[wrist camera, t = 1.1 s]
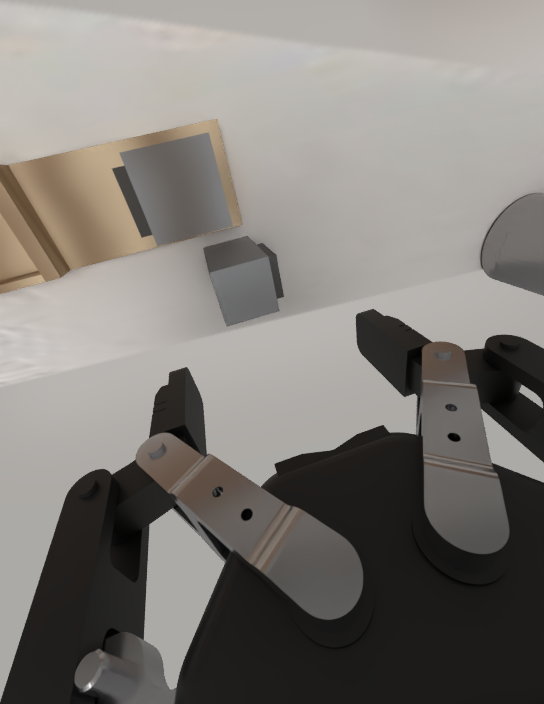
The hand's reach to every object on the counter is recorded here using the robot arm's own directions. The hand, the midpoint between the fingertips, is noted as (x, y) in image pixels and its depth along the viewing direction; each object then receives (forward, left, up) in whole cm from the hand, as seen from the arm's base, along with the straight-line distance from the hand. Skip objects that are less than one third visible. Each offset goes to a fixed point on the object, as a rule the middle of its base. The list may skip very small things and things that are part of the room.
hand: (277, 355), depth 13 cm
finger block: (0, 0, -16) cm, 16 cm away
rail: (+9, -7, -16) cm, 20 cm away
